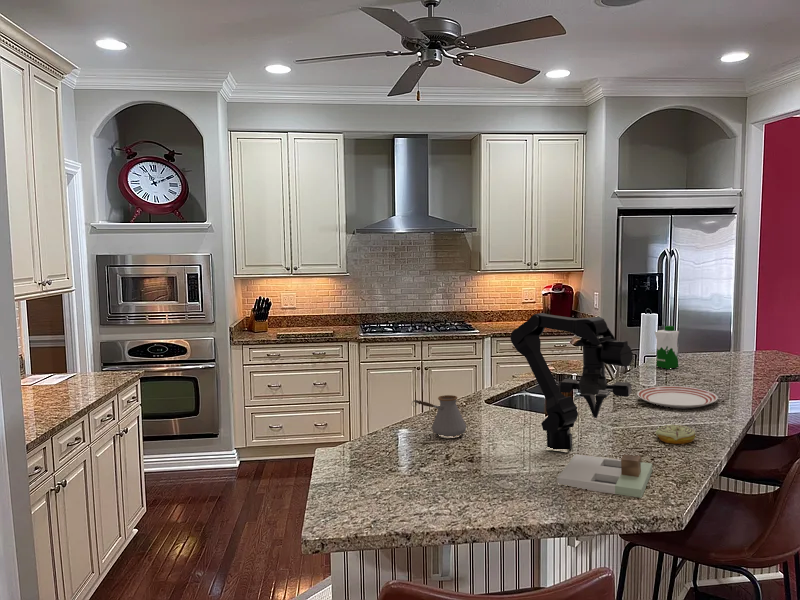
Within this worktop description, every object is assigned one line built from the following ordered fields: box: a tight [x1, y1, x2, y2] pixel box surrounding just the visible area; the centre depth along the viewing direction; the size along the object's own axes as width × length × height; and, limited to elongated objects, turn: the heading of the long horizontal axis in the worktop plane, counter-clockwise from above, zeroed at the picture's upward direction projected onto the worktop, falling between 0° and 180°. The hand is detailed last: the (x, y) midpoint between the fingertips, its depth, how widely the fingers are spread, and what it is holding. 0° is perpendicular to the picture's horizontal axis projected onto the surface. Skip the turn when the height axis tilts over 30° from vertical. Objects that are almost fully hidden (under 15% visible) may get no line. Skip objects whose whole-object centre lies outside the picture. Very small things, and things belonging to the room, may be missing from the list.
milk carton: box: [654, 325, 680, 370], centre depth 284 cm, size 9×9×20 cm
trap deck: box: [556, 453, 653, 499], centre depth 153 cm, size 20×19×2 cm
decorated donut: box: [655, 423, 696, 445], centre depth 180 cm, size 10×11×4 cm
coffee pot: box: [411, 394, 467, 436], centre depth 192 cm, size 21×12×15 cm, turn 132°
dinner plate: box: [636, 385, 719, 409], centre depth 223 cm, size 27×27×3 cm
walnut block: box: [620, 453, 642, 477], centre depth 150 cm, size 4×4×4 cm
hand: (595, 417), depth 166 cm, fingers closed
